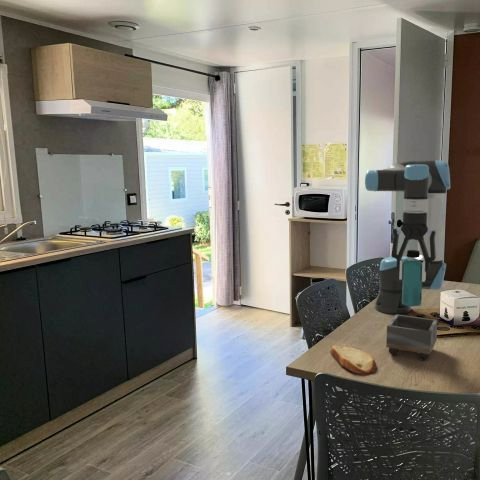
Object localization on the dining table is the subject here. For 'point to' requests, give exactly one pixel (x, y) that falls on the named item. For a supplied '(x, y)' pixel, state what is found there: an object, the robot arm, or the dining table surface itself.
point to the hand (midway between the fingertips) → (412, 279)
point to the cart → (411, 335)
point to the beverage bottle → (412, 280)
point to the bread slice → (354, 359)
